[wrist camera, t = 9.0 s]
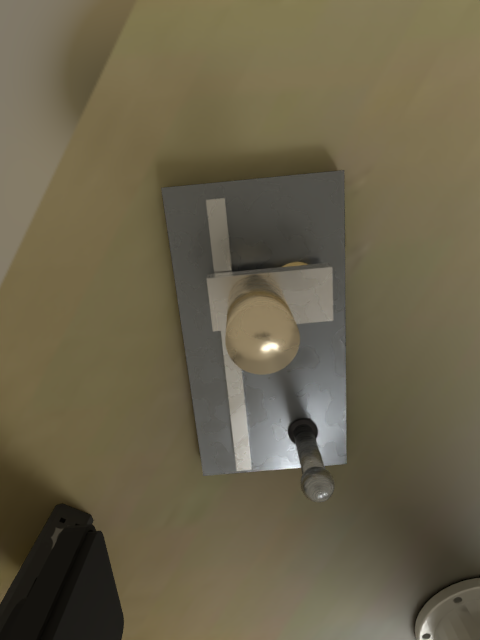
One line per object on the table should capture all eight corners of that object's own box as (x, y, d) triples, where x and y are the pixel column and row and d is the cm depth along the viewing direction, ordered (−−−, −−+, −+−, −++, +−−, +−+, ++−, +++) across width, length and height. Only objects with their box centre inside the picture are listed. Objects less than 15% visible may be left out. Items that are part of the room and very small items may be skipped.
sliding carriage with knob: (324, 260, 27) (366, 295, 18) (326, 310, 28) (366, 365, 20) (208, 271, 27) (196, 310, 19) (214, 320, 28) (205, 379, 20)
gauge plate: (338, 171, 27) (382, 163, 19) (342, 452, 34) (374, 534, 26) (165, 187, 27) (135, 187, 19) (204, 463, 35) (194, 548, 27)
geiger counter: (64, 590, 39) (-33, 819, 25) (20, 574, 39) (-106, 800, 24) (106, 517, 37) (24, 727, 22) (59, 498, 36) (-57, 703, 22)
